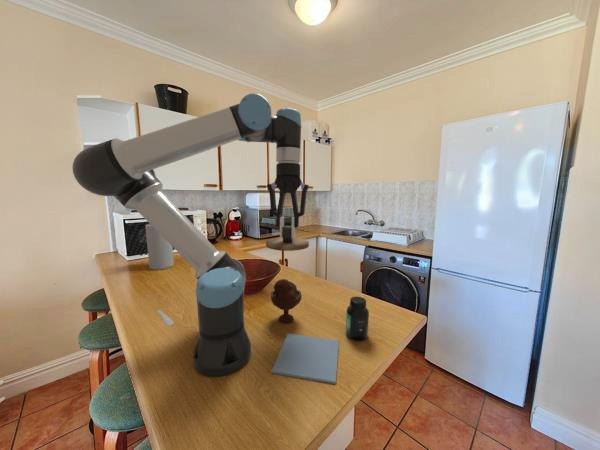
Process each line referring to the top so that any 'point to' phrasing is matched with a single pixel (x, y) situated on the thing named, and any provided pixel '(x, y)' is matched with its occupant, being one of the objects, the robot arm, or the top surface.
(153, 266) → the cylinder vase
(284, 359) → the slate mat
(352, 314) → the supplement bottle
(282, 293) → the ice cream bowl
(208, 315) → the robot arm
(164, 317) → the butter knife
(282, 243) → the walnut lid
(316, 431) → the top surface
